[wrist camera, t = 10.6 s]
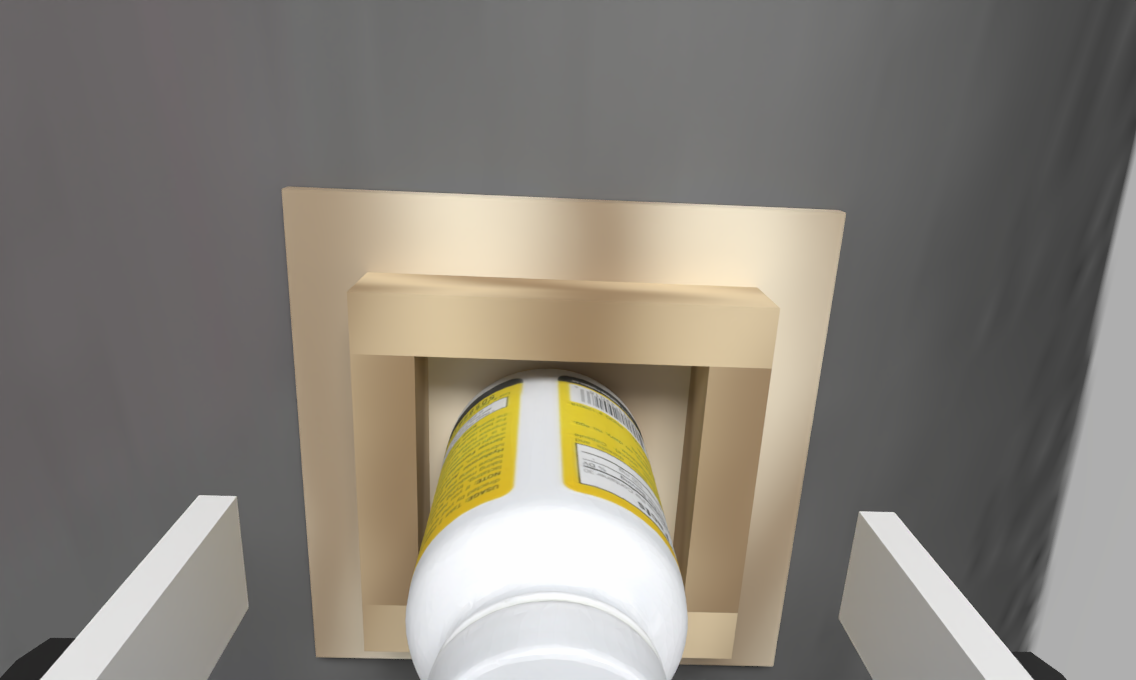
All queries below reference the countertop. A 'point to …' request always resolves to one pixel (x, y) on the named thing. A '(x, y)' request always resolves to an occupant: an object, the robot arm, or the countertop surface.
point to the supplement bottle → (546, 543)
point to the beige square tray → (556, 341)
